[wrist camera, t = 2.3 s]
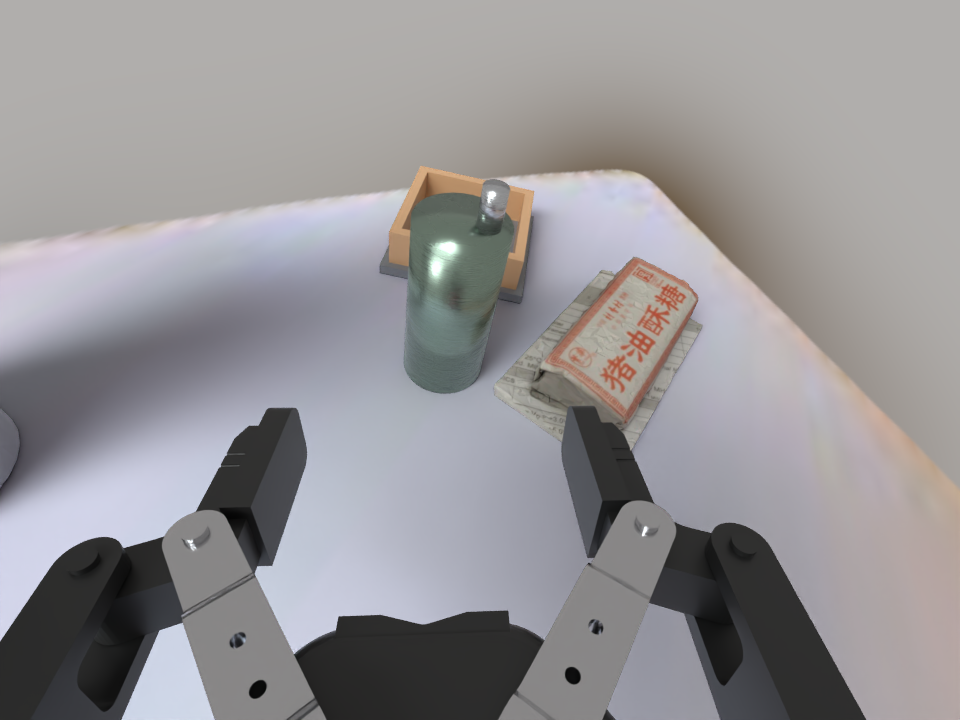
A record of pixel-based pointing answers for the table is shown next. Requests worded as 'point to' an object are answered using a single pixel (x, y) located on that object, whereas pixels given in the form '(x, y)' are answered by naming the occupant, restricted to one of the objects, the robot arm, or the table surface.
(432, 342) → the spout can
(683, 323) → the packaged product
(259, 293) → the table surface
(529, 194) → the wooden tray with base
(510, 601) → the table surface
